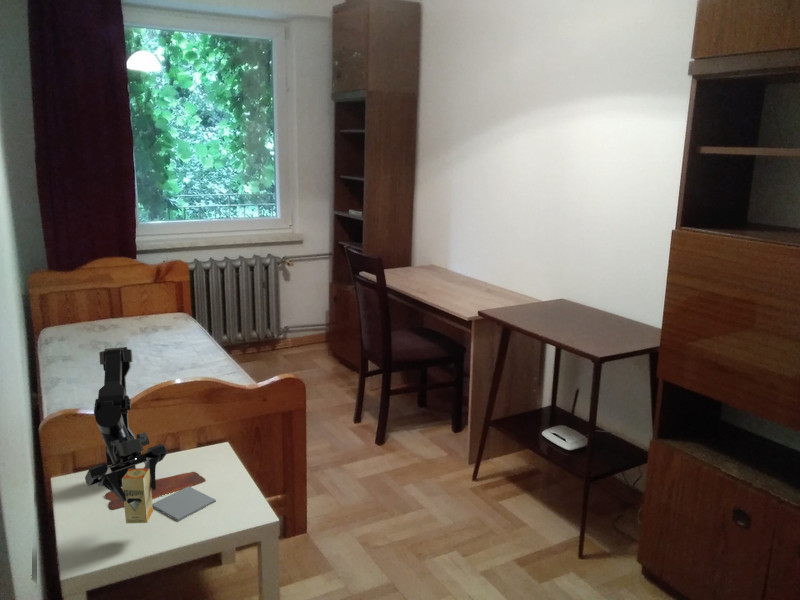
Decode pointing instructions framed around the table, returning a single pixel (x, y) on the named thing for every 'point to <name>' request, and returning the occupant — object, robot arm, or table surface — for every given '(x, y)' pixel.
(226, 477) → the table surface
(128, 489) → the shoe polish box
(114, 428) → the robot arm
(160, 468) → the table surface
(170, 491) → the wooden tablet
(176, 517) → the slate mat
